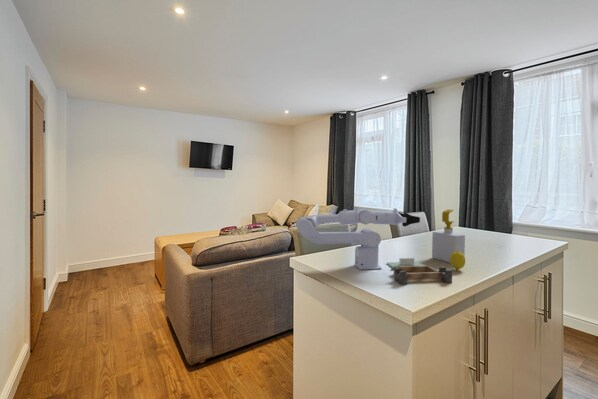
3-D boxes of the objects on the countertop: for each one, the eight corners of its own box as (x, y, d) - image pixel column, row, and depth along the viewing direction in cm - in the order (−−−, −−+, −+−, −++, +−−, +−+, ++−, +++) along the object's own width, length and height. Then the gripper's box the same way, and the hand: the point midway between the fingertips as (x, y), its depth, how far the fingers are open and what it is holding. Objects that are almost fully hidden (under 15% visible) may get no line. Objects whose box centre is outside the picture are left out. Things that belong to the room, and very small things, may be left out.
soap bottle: (464, 263, 124) (466, 210, 123) (454, 264, 122) (455, 211, 120) (441, 256, 135) (442, 208, 134) (431, 258, 133) (432, 208, 132)
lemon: (446, 268, 117) (447, 249, 116) (459, 267, 117) (459, 249, 117) (455, 272, 111) (455, 252, 111) (468, 272, 112) (468, 252, 111)
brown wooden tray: (400, 284, 98) (400, 272, 97) (387, 274, 109) (387, 263, 109) (451, 282, 99) (452, 270, 99) (433, 272, 111) (434, 261, 110)
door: (392, 271, 114) (392, 261, 114) (383, 264, 123) (383, 255, 123) (432, 270, 115) (432, 260, 115) (420, 263, 125) (420, 254, 125)
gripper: (391, 209, 111) (424, 210, 112) (378, 206, 126) (407, 208, 127) (390, 227, 111) (423, 228, 113) (377, 222, 126) (406, 223, 127)
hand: (414, 218), depth 120 cm, fingers open, 7 cm apart
